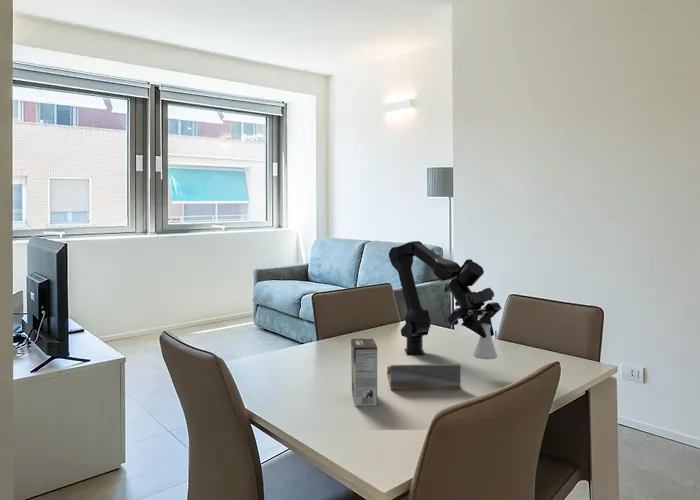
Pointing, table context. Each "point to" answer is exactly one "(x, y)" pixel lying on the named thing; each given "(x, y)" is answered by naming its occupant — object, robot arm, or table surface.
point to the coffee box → (364, 372)
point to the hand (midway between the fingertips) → (489, 336)
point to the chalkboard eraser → (424, 377)
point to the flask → (485, 345)
